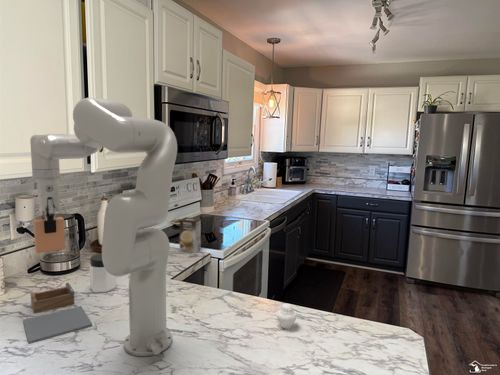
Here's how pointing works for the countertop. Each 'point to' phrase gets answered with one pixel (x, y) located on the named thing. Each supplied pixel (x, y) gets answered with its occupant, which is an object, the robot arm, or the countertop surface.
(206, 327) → the countertop surface
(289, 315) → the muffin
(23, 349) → the countertop surface
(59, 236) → the orange block
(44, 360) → the countertop surface
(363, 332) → the countertop surface
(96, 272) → the jar
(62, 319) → the mat
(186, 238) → the coffee box
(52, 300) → the dispenser
